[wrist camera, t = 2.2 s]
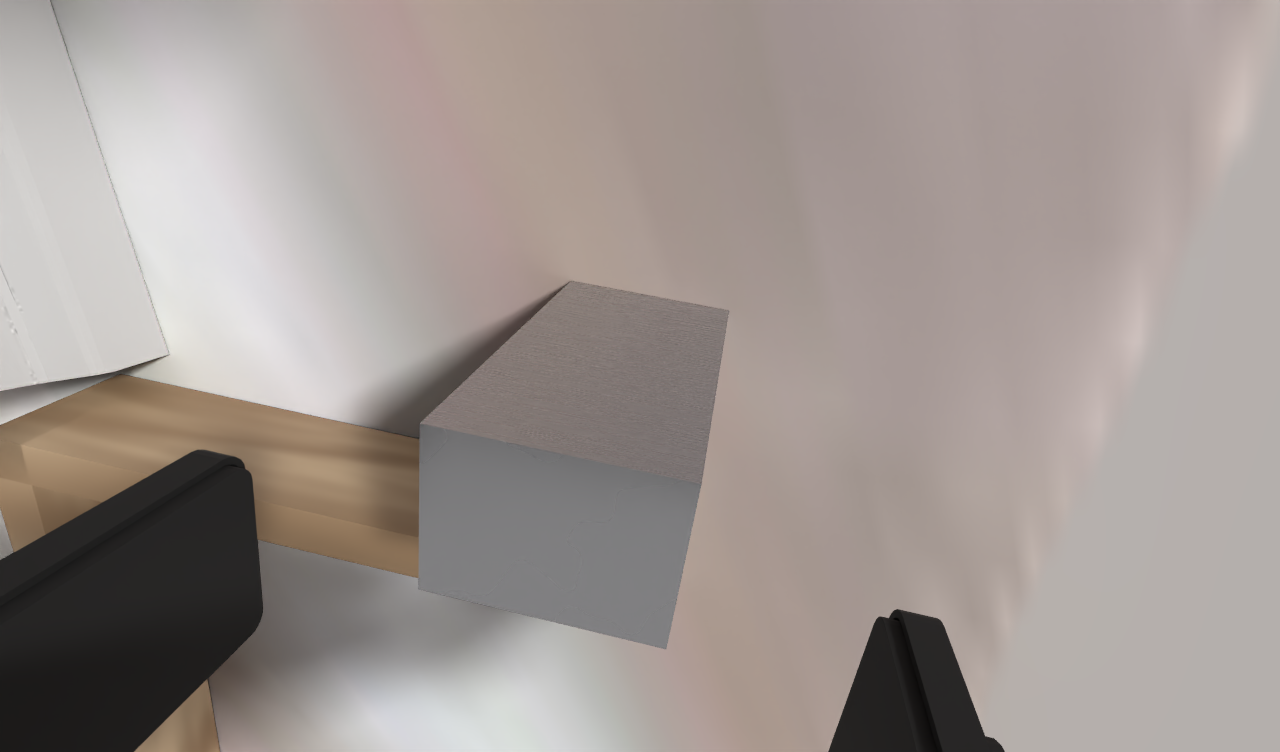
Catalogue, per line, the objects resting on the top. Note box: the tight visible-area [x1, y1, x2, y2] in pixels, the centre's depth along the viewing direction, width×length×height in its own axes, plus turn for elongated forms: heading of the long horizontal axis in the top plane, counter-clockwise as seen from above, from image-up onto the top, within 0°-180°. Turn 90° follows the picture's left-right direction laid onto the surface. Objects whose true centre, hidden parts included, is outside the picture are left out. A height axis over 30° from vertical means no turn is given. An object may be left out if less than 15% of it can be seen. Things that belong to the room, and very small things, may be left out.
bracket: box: [418, 281, 729, 649], centre depth 14 cm, size 8×4×8 cm, turn 171°
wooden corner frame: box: [0, 374, 419, 752], centre depth 21 cm, size 18×12×4 cm, turn 172°
